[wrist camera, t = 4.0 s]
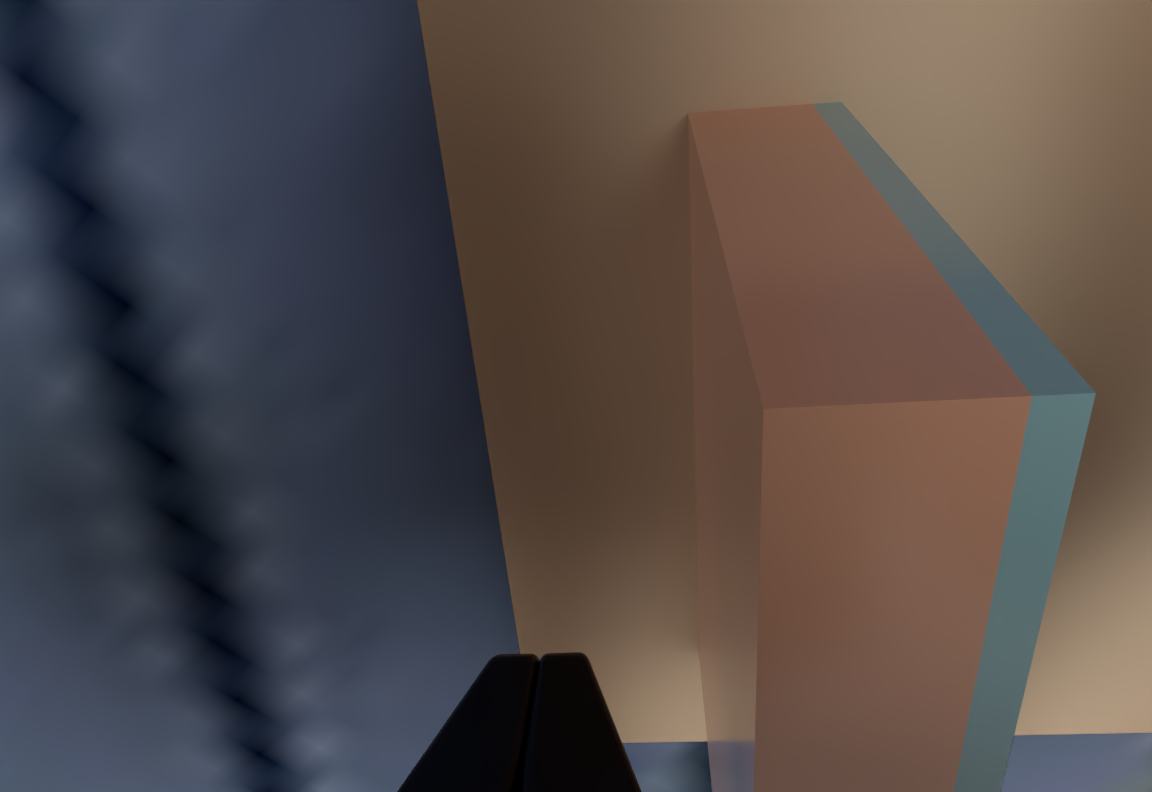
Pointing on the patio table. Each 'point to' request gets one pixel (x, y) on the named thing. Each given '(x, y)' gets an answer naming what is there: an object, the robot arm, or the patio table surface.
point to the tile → (862, 468)
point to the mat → (664, 298)
